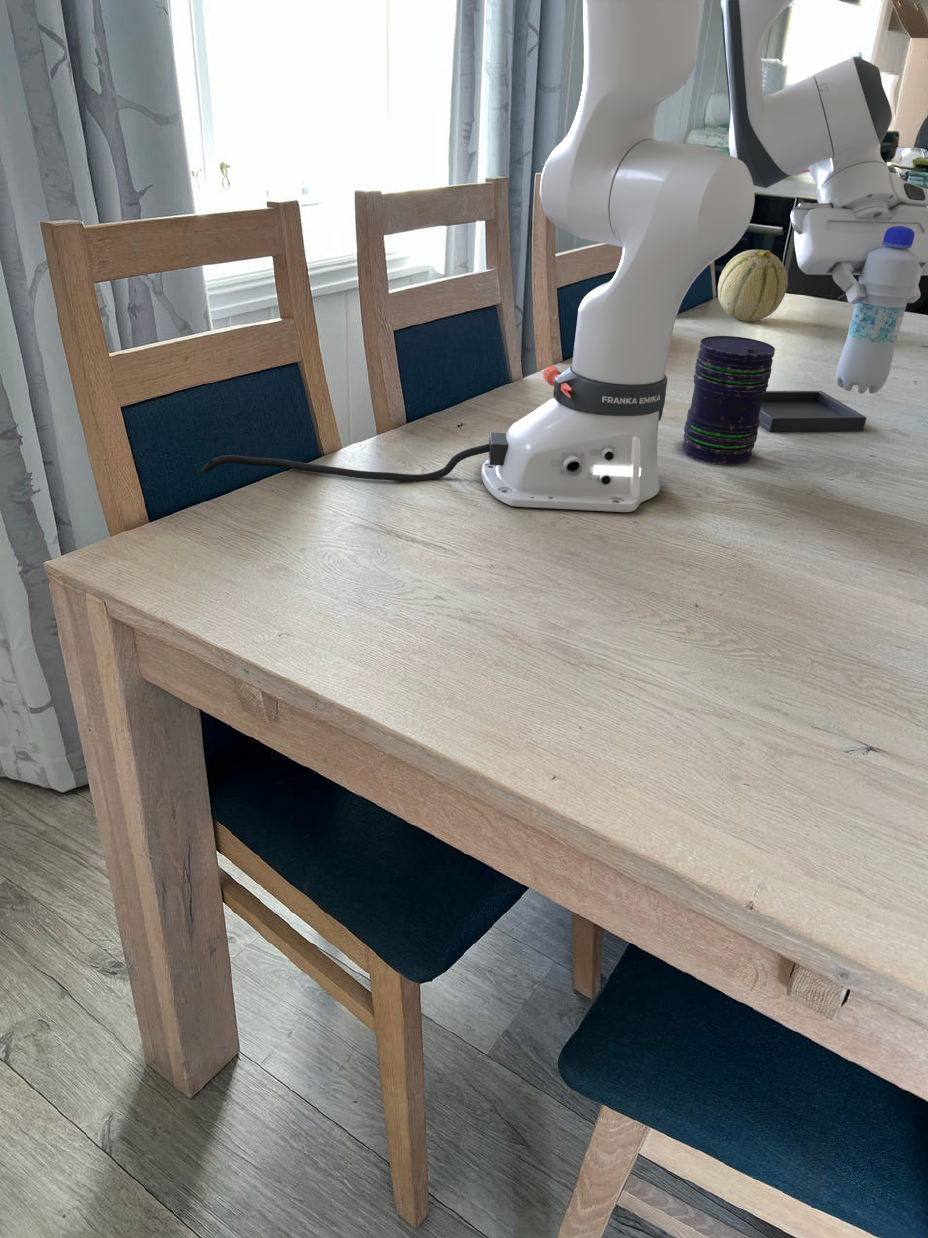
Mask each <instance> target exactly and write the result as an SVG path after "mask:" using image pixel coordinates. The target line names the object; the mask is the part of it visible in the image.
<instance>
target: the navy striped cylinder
mask: <svg viewBox="0 0 928 1238" xmlns="http://www.w3.org/2000/svg"><path fill="white" fill-rule="evenodd" d="M775 352H776V347H774V346H773V345H772V344H770V343H768V342H765V341H762V340H759V339H753V338H748V337H743V336H733V335H713V336H711V335H710V336H706V337H703V338H701V339H700V343H699V351H698V354H697V359H696V361H695V366H694V369H695V370H694V374H693V384H694V386H693V392H692V396H691V397H692V398H691V403H690V408H689V409H688V410H687V415H686V420H685V422H684V423H685V424H684V428H683V432H684V435H683V442H682V445H681V451H682V452H683V454H684V455H686V456H687V457H688V458H689V457H690V459H693V460H696V461H699V462H702V463H707V464H711V465H717V466H718V465H720V466H739V465H744V464H747V463H749V462H750V461H751V460H752V457H753V449H754V448H755V444H756V442H757V439H758V434H759V432H758V430H759V427H760V425H759V422H760V419H759V413H760V408H761V404H762V399H763V395H764V393H765V392H766V391H768V390H767V389H768V388H769V384H768V383H769V379H771V375H772V371H773V370H772V365H773V361H774V360H773V358H774V356H775Z"/></svg>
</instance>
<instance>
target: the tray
mask: <svg viewBox="0 0 928 1238" xmlns="http://www.w3.org/2000/svg"><path fill="white" fill-rule="evenodd" d="M759 419H760V422H759V426H761V427H762V428H763V429H765V430H766V431H767V432H769V433H784V432H785V433H788V432H791V433H792V432H793V433H794V432H796V433H797V432H857V431H860V432H861V431H864V428H865V425H866V421H867V416H865V415H863V414H861V413H860V412H858V411H857V410H854V409H853V408H851V406H850V407H849V406H848V405H846V404H844V403H843V402H841V401H840V400H838V399H836V398H834V397H833V396H831V395H830V394H827V392H824V391H822V390H766V392H765V393H764V395H763V399H762V404H761V408H760V413H759Z"/></svg>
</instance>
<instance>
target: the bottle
mask: <svg viewBox="0 0 928 1238" xmlns="http://www.w3.org/2000/svg"><path fill="white" fill-rule="evenodd" d="M913 240H914V231H913V230H912V229H910V228H907V227H903V226H895V227H891V228H889V229H888V230H887V231H886V233H885V235H884V239H883V243H882V245H884V247H881V248H879V249H876V250H874V251H871V252H870V253H869V254H868V257H867V259H866V262H865V264H864V267H863V269H862V272H861V274H860V275H858V284H864V286H865V291H866V293H867V296H866V298H865V299H864V300H862V302H861V303H855V304H854V307H853V313H852V317H851V321H850V325H849V328H848V332H847V336H846V339H845V342H844V343H845V344H844V346H843V349H842V352H841V354H840V358H839V361H838V365H837V369H836V374H835V376H836V377H835V379H836V383H837V385H838V386H839V387H840V388H843V389H844V390H845V391H847V392H851V391H852V389H853V388H854V387H853V386H858V390H857V392H858V394H861V395H862V394H865V392H866V391H867V390H868V393H869V394H876V393H878V392H879V391H880V390H881V389H882V388H883V387H884V385H885V384H886V382H887V380H888V377H889V375H890V371H891V366H892V362H893V357H894V352H895V347H896V343H897V341H898V337H899V334H900V330H901V326H902V323H903V319H904V315H905V311H906V310H907V309H906V308H907V304H908V303H907V302H908V300H909V299H910V298H911V296H912V292H913V289H914V287H915V286H916V278H917V271H918V265H919V257H918V256H916V255H915V254H914V253H913V252H911V251H910V250H909V249H908V248H911V246H912V243H913Z"/></svg>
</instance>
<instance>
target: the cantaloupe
mask: <svg viewBox="0 0 928 1238" xmlns="http://www.w3.org/2000/svg"><path fill="white" fill-rule="evenodd" d="M788 277H789V276H788V272H787V270H786V268H785V265H784V264H783V262H782V261H781V259H780V258H779V257H778V256H777V255H775V254H774V253H772V252H771V251H770V250H764V249H748V250H745V251H742V252H740V253H738V254H736V255H735V256H733V257H732V258H731V259H730V260H729V261H728V262H727V263H726V265H725V266H724V268H723V269H722V271H721V274H720V275H719V280H718V284H717V298H718V301H719V304H720V306H721V307H722V308H723V310H724V311H725V312H726V313H727V314H728V315H729V316H730V317H733V318H735V319H736V320H740V321H747V322H753V321H755V322H756V321H759V320H762V319H764V318H767V317H769V316H770V315H772V314H773V313H774V312H776V310H778V308H779V307H780V305H781V303H782V301H784V297H785V296H786V293H787V289H788V285H789V278H788Z"/></svg>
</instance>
